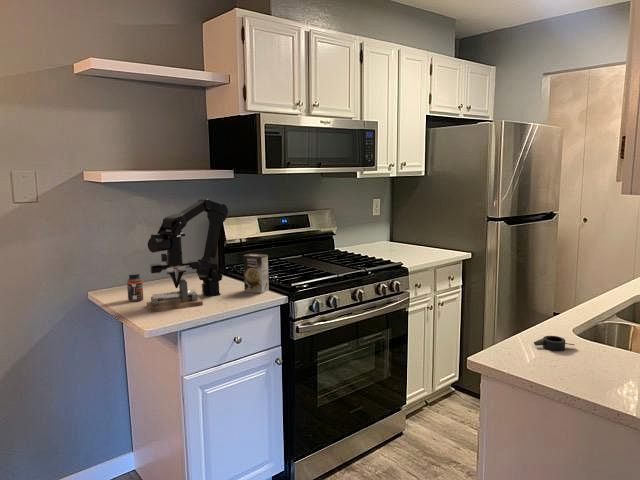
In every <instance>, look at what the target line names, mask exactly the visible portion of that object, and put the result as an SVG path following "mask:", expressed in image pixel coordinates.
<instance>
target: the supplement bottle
mask: <svg viewBox="0 0 640 480" xmlns="http://www.w3.org/2000/svg"><path fill="white" fill-rule="evenodd" d="M140 276H141V275H140V273H139V272H131V273H129V274H128V279H126V285H127V286H126V288H127V299H128V301H129V302H134V303H135V302H141V301H143V300H144V289H143V288H144V287H143V285H144V284H143V278H142V277H140Z"/></svg>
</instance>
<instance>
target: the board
mask: <svg viewBox="0 0 640 480" xmlns="http://www.w3.org/2000/svg"><path fill="white" fill-rule="evenodd" d="M203 305H204V301H203V300H202V299H201V298H200V297H199V296H198V295H197V300H196V301H192V300H191V299H190V297H189V298H188V302H183V301H182V299H173V300H165V301H158V306H153V305H152V304H151V301H146V307H147V309H148V311H149V313H154V312H162V311H167V310H168V311H169V310H174V309H176V310H177V309H185V308H190V307H197V306H203Z"/></svg>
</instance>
